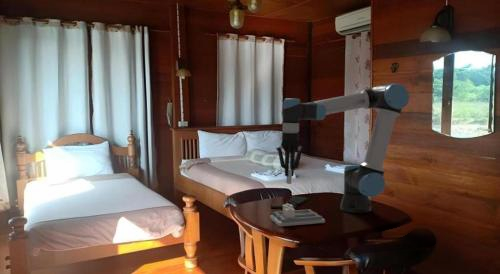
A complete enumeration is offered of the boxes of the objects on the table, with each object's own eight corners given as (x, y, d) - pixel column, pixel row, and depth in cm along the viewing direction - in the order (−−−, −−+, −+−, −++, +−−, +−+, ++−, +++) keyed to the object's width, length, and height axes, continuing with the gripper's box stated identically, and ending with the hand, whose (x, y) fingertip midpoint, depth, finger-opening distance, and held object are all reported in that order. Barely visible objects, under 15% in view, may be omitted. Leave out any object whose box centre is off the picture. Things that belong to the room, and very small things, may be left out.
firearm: (283, 194, 236) (309, 196, 230) (283, 198, 236) (308, 200, 230) (267, 205, 209) (295, 208, 204) (267, 209, 210) (295, 212, 204)
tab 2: (292, 218, 186) (292, 206, 185) (294, 220, 182) (295, 208, 182) (284, 219, 185) (284, 207, 184) (286, 221, 181) (286, 209, 181)
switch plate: (313, 215, 197) (313, 209, 197) (324, 222, 185) (324, 216, 184) (270, 218, 192) (270, 212, 191) (278, 226, 179) (279, 219, 179)
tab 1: (290, 214, 193) (290, 202, 192) (293, 216, 190) (293, 204, 189) (282, 215, 192) (282, 203, 191) (285, 217, 188) (285, 205, 188)
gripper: (301, 131, 191) (299, 181, 192) (274, 131, 188) (272, 182, 189) (307, 132, 183) (305, 184, 185) (279, 132, 180) (277, 185, 182)
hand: (288, 183), depth 187 cm, fingers closed
